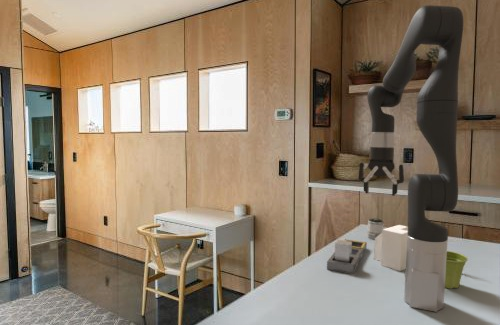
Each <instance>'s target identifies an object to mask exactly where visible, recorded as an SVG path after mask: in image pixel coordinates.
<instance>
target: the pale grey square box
mask: <svg viewBox="0 0 500 325" xmlns="http://www.w3.org/2000/svg"><path fill="white" fill-rule="evenodd" d="M334 253H335V261H339V262H345V263H351V258H352V242H350V241H344V240H341V239H338V240H336V242H335V245H334Z"/></svg>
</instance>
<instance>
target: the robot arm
mask: <svg viewBox="0 0 500 325" xmlns="http://www.w3.org/2000/svg"><path fill="white" fill-rule="evenodd" d="M463 34H464V14H463V12H462V10H461V9H460V8H459V7H458V6H452V5H451V6H450V5H434V4H433V5H432V4H431V5H429V4H428V5H423V6H421V7H420V8H418V9H417V10H416V12H415V13H414V15H413V17H412V18H411V20H410V22H409V25H408V28H407V30H406V33H405V34H404V37H403V39H402V42H401V44H400V47H399V49H398V52H397V54H396V56H395V59H394V61H393V62H392V64H391V66H390V67H389V69H388V70H387V72H386V74H385V75H384V76H383V79H382V85H381V84H379V85H377V84H376V85H372V86H371V87H370V88H369V90H368V92H367V97H366V98H367V103H368V108H369V111H370V116H371V135H370V146H369V162H368V163H365V162H360V163H359V169H358V178H357V180H359V181H362V182H363V192H365V194H369V193H370V192H369V191H370V190H369V189H370V182H369V181H370V180H371V179H372V177H373V176H375V177H383V178H385V177H388V178H389V179H390V180H391V182H392V183H393V184H392V189H391V193H392V194H391V195H392V196H393V197H395V196H396V195H397V193H398V185H399V184H402V183H404V181H405V165H404V164H395V162H394V160H395V158H394V157H395V145H396V143H395V117H394V115H392V114H389V113H386V112H384V111H383V109H382V108H394V107H397V106H398V105H399V104H401V101H402V97H403V94H404V91H405V88H406V86H407V85H408V84H409V82H411V80H412V79H413V77H414V75H415V73H416V69H417V61H416V56H415V52H416V50H417V48H419V46H421V45H424V46H425V45H431V46H438V56H437V61H436V65H435V67H434V69H433V71H432V72H431V74H430V76H429V77H428V78H427V79H426V81H425V83H424V84H423V86H422V87H421V88H420V91H419V92H418V95H417V97H416V98H417V99H416V125H417V127H418V129H419V130H420V133H421V134H422V136H423V137H424V139H425V141H426V142H427V143H428V144H429V146H430V148H431V150H432V151H433V153H434V155H435V158H436V160H437V167H438V174H435V173H433V174H430V173H415V174H412V175H411V176H410V177H409V180H408V184H407V227H408V235H407V253H406V269H405V275H404V298H403V299H404V302H406V303H407V304H408V305H409V307H411V308H415V309H421V310H425V311H431V312H435V313H437V312H438V311H439V310H442V309H443V308H444V307H445V306H444V305H445V289H446V287H445V274H446V258H447V251H448V241H449V240H448V239H449V238H448V237H449V231H448V228H447V227H445V226H444V225H442V224H440V223H437V222H434V221H432V220H430V219H428V218H427V217H426V214H425V212H445V213H446V212H447V213H448V212H452V211H454V210H455V208H456V207H457V204H458V199H459V179H458V178H459V177H458V164H457V162H458V161H457V159H458V158H457V128H458V114H459V113H458V112H459V110H458V109H459V107H458V106H459V68H460V56H461V49H462V42H463ZM367 168H368V169H369V170H370V172H369V173H368V174H367V175H366V177H365V176H364V175H365V170H366V169H367ZM394 169H396V171H397V172H398V175H399V176H398V179H397V178H396V176H395V175H394V173H393V171H394Z"/></svg>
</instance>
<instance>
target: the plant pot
mask: <svg viewBox="0 0 500 325" xmlns="http://www.w3.org/2000/svg"><path fill="white" fill-rule="evenodd" d="M467 261H468V257H467V256H465V255H464V254H461V253H459V252H455V251H451V250H447V258H446V274H445V289H446V288H447V289H458V288H459V287H460V282H461V279H462V278H461V277H462V274H463V270H464V266H465V265H466V263H467Z"/></svg>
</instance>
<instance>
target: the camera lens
mask: <svg viewBox="0 0 500 325" xmlns="http://www.w3.org/2000/svg"><path fill="white" fill-rule="evenodd" d="M384 223H385V222H384V221H383V219H380V218H369V219H368V220H367V237H368V239H370V240H374V239H375V238H376V237H377V236H378V235H380V234H381V233H382V230H383V229H385V228H384Z"/></svg>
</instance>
